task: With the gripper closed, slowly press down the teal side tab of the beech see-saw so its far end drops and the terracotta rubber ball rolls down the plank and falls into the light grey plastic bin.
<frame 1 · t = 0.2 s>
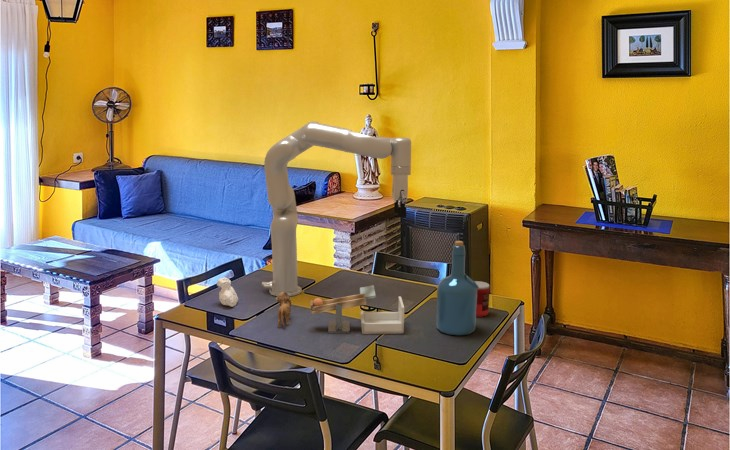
hand: (400, 214, 230), 31 cm above the table, tool pointing down, fingers open, 9 cm apart
bin: (381, 327, 200), on the table
ball: (317, 302, 197), point 9 cm above the table, tilted 14°, touching lever
canned food: (476, 314, 213), on the table
fulcrum: (338, 328, 199), on the table
lion figurine: (283, 321, 205), on the table
duck figurine: (228, 304, 222), on the table
wine bottle: (456, 329, 199), on the table
lever: (343, 296, 202), point 9 cm above the table, hinge at -10.1°, touching ball
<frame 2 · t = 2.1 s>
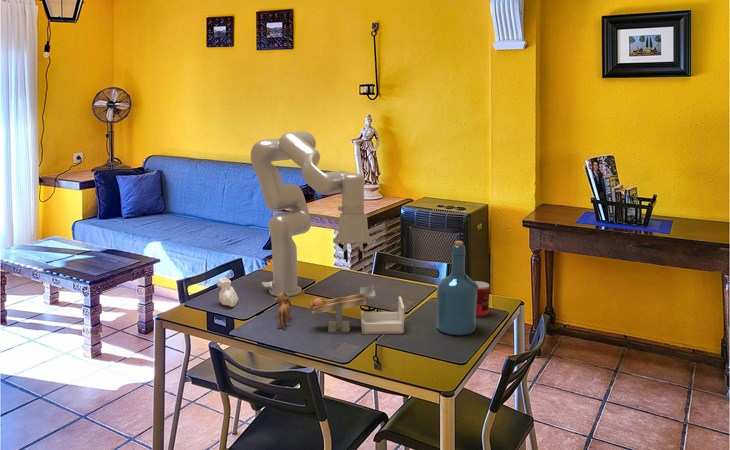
hand: (353, 260, 209), 19 cm above the table, tool pointing down, fingers open, 3 cm apart
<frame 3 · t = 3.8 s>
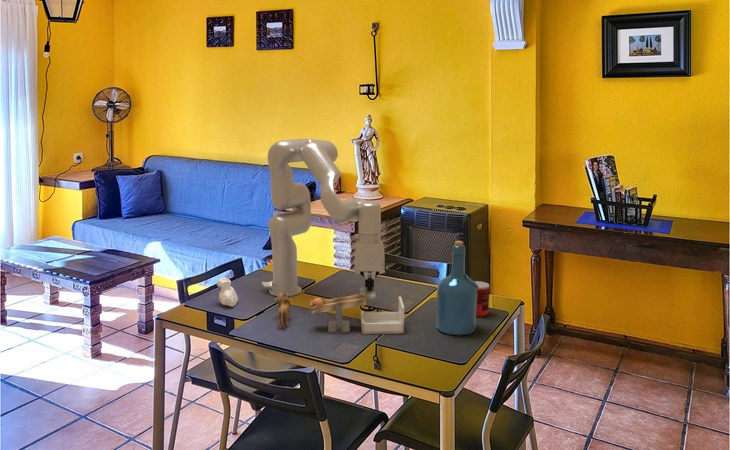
hand: (369, 289, 207), 10 cm above the table, tool pointing down, fingers closed
lever: (343, 296, 202), point 9 cm above the table, hinge at -9.3°, touching ball, gripper
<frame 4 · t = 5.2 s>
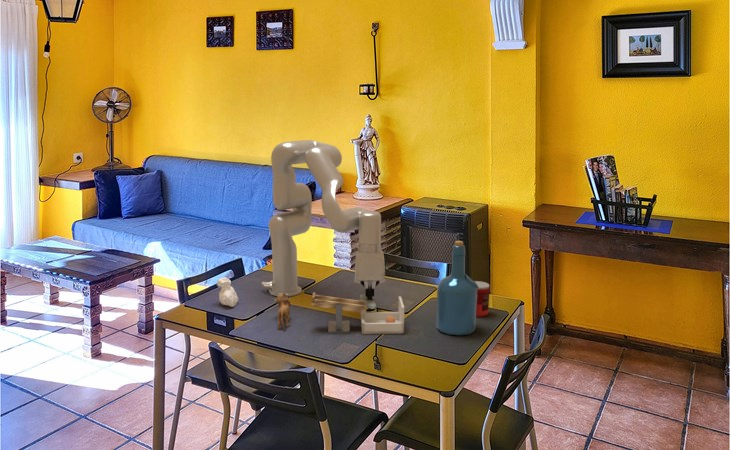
hand: (369, 298, 208), 7 cm above the table, tool pointing down, fingers closed
ball: (390, 320, 199), point 2 cm above the table, tilted 135°, touching bin
lever: (344, 297, 203), point 9 cm above the table, hinge at 8.4°, touching gripper
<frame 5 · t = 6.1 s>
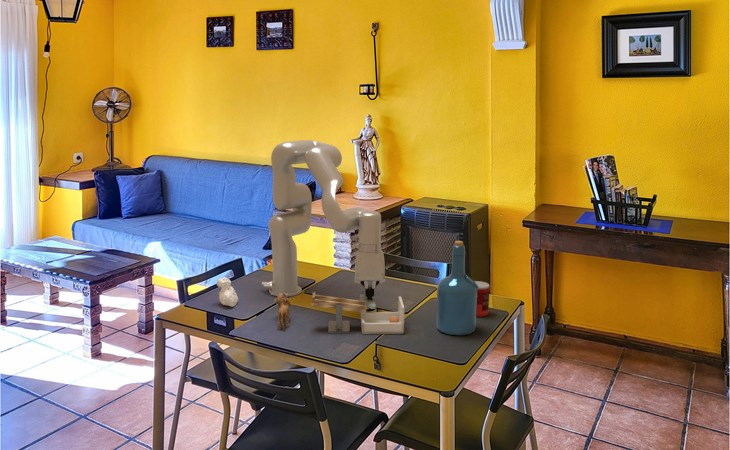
hand: (369, 298, 208), 7 cm above the table, tool pointing down, fingers closed
ball: (394, 320, 199), point 2 cm above the table, tilted 169°, touching bin
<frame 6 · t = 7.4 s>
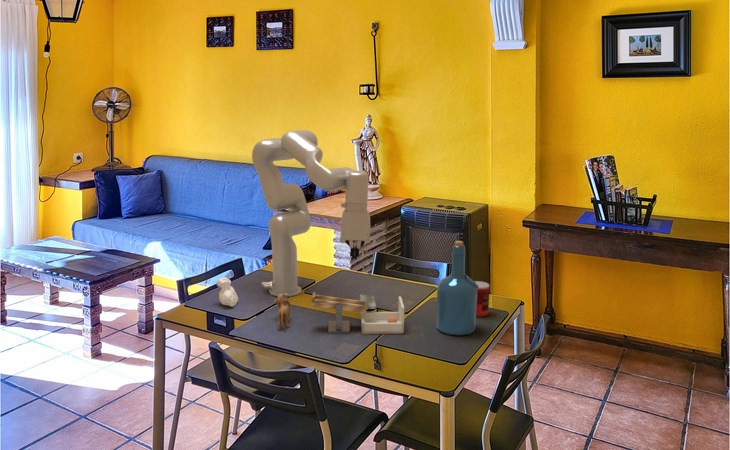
hand: (354, 258, 209), 20 cm above the table, tool pointing down, fingers closed
lever: (344, 297, 203), point 9 cm above the table, hinge at 8.4°
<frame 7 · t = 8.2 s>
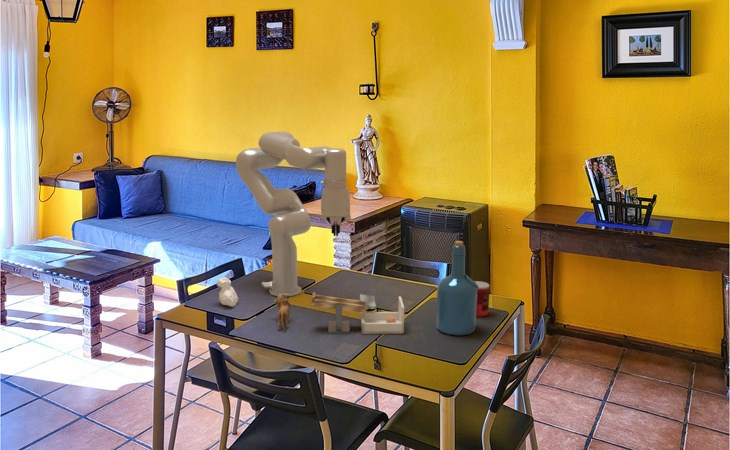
hand: (335, 235, 213), 27 cm above the table, tool pointing down, fingers closed
ball: (391, 320, 199), point 2 cm above the table, tilted 156°, touching bin
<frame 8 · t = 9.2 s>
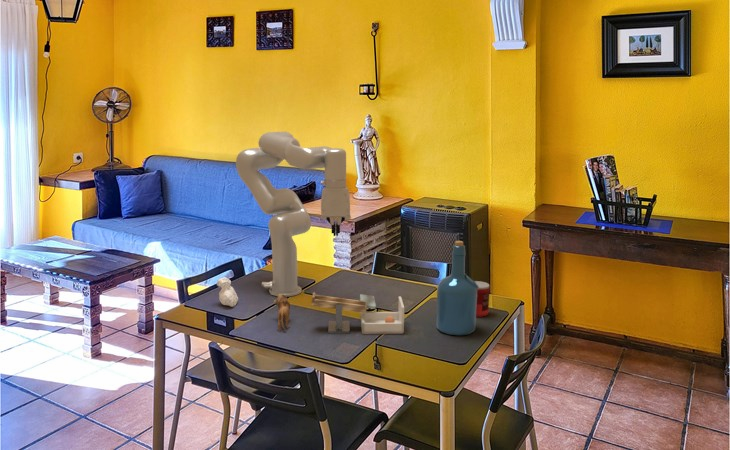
hand: (335, 235, 213), 27 cm above the table, tool pointing down, fingers closed
ball: (389, 320, 199), point 2 cm above the table, tilted 140°, touching bin
at the end: ball inside the target area on the bin (2.6 cm from its centre), point 2.4 cm above the bin's base; lever at +8° (first picture: -10°) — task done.
